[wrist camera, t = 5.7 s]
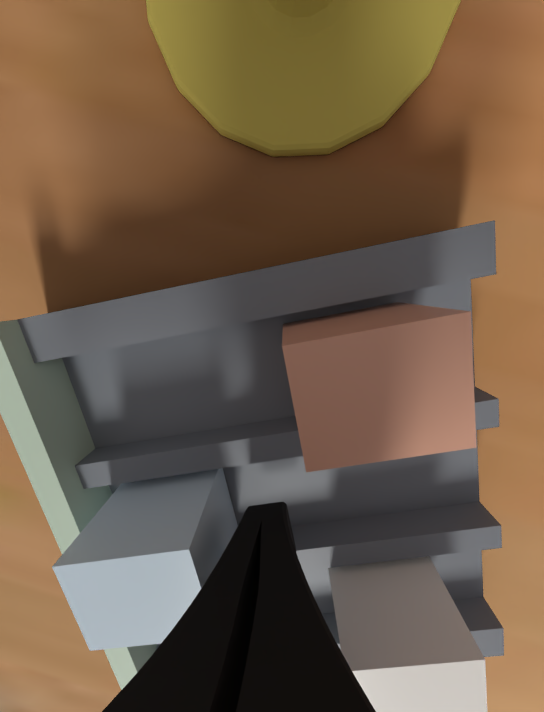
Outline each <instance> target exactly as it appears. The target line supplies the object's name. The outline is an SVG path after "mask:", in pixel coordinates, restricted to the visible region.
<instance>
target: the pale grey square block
mask: <svg viewBox="0 0 544 712" xmlns="http://www.w3.org/2000/svg"><path fill="white" fill-rule="evenodd" d="M328 571H329V578H330V584H331V590H332V597H333V603H334V609H335V616H336V622H337V628H338V635H339V641H340V648H341V652H342V654H343V655H344V657H345V659H346V661H347V663H348V665H349V666H350V668H351V670H352V672H353V674H354V675H355V677H356V679H357V681H358V682H359V684H360V686H361V687H362V689H363V691H364V693H365V694H366V696H367V698H368V699H369V701H370V703H371V704H372V706H373V708H374V709H375V711H376V712H487V694H486V669H485V658H484V657H483V655H482V653H481V651H480V649H479V647H478V646H477V644H476V642H475V640H474V638H473V636H472V634H471V633H470V631H469V629H468V627H467V625H466V623H465V622H464V620H463V618H462V616H461V614H460V612H459V610H458V609H457V607H456V605H455V603H454V601H453V599H452V598H451V596H450V594H449V592H448V590H447V588H446V586H445V585H444V583H443V581H442V579H441V577H440V575H439V573H438V572H437V570H436V568H435V566H434V564H433V562H432V561H431V559H430V557H429V556H427V557H418V558H410V559H401V560H392V561H384V562H375V563H367V564H358V565H350V566H341V567H333V568H328Z"/></svg>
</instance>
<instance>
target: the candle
mask: <svg viewBox="0 0 544 712" xmlns="http://www.w3.org/2000/svg"><path fill="white" fill-rule="evenodd" d="M460 2H461V0H146V7H147V17H148V23H149V25H150V27H151V30H152V32H153V34H154V36H155V39H156V41H157V43H158V46H159V48H160V50H161V52H162V55H163V57H164V59H165V62H166V64H167V66H168V69H169V71H170V73H171V75H172V78H173V80H174V82H175V85H176V87H177V89H178V91H179V92H180V93H181V94H182V95H183V96H184V97H185V98H186V99H187V100H188V101H189V102H190V103H191V104H192V105H193V106H194V107H195V108H196V109H197V110H198V111H199V112H200V114H201V115H202V116H203V117H204V118H205V119H206V120H207V121H208V122H209V123H210V124H211V125H212V126H213V127H214V128H215V129H216V130H217V131H218V132H219V133H220V134H221V135H222V136H225V137H227V138H229V139H232V140H234V141H237V142H239V143H241V144H244V145H246V146H248V147H251V148H253V149H256V150H258V151H260V152H263V153H265V154H267V155H270V156H272V157H279V156H302V155H324V154H330V153H332V152H334V151H336V150H338V149H340V148H342V147H344V146H346V145H348V144H350V143H352V142H354V141H356V140H358V139H360V138H362V137H364V136H366V135H368V134H370V133H372V132H373V131H375V130H377V129H379V128H381V127H383V125H384V124H385V123H386V122H387V121H388V120H389V119H390V118H391V117H392V115H393V114H394V113H395V112H396V111H397V110H398V109H399V108H400V107H401V105H402V104H403V103H404V102H405V101H406V100H407V99H408V98H409V96H410V95H411V94H412V93H413V92H414V91H415V90H416V89H417V88H418V86H419V85H420V84H421V83H422V82H423V81H424V80H425V79H426V77H427V76H428V75H429V73H430V72H431V69H432V67H433V65H434V62H435V60H436V58H437V55H438V53H439V51H440V48H441V46H442V44H443V41H444V39H445V37H446V34H447V32H448V30H449V27H450V25H451V23H452V20H453V18H454V16H455V13H456V11H457V9H458V6H459V4H460Z"/></svg>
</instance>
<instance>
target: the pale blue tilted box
mask: <svg viewBox="0 0 544 712" xmlns="http://www.w3.org/2000/svg"><path fill="white" fill-rule="evenodd" d="M237 527H238V525H237V521H236V517H235V513H234V509H233V506H232V502H231V498H230V494H229V490H228V487H227V483H226V479H225V475H224V471H223V468H220V469H214V470H207V471H200V472H194V473H187V474H180V475H174V476H167V477H161V478H154V479H147V480H141V481H134V482H127V483H121V485H120V486H119V487H118V488H117V489H116V491H115V492H114V493H113V494H112V495H111V497H110V498H109V499H108V500H107V501H106V503H105V504H104V505H103V506H102V507H101V509H100V510H99V511H98V512H97V513H96V515H95V516H94V517H93V518H92V520H91V521H90V522H89V523H88V524H87V526H86V527H85V528H84V529H83V530H82V532H81V533H80V534H79V535H78V536H77V538H76V539H75V540H74V541H73V542H72V544H71V545H70V546H69V547H68V548H67V550H66V551H65V552H64V553H63V554H62V556H61V557H60V558H59V559H58V560H57V562H56V563H55V564H54V565H53V566H52V568H53V570H54V572H55V574H56V577H57V579H58V581H59V583H60V585H61V588H62V590H63V592H64V594H65V596H66V599H67V601H68V603H69V605H70V607H71V610H72V612H73V614H74V616H75V619H76V621H77V623H78V625H79V627H80V630H81V632H82V634H83V636H84V638H85V641H86V643H87V645H88V647H89V650H90V651H91V650H102V649H112V648H122V647H132V646H142V645H152V644H161V643H162V642H163V641H164V639H165V638H166V637H167V636H168V634H169V633H170V632H171V630H172V629H173V628H174V627H175V625H176V624H177V622H178V621H179V620H180V618H181V617H182V616H183V614H184V613H185V612H186V610H187V609H188V607H189V606H190V604H191V603H192V602H193V600H194V599H195V597H196V596H197V594H198V593H199V591H200V590H201V588H202V587H203V585H204V583H205V582H206V580H207V579H208V577H209V576H210V574H211V572H212V571H213V569H214V568H215V566H216V564H217V563H218V561H219V559H220V557H221V556H222V554H223V552H224V550H225V549H226V547H227V545H228V543H229V542H230V540H231V538H232V536H233V534H234V532H235V530H236V529H237Z"/></svg>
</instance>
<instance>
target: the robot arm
mask: <svg viewBox="0 0 544 712" xmlns="http://www.w3.org/2000/svg"><path fill="white" fill-rule="evenodd" d="M102 712H376V711H375V709H374V708H373V706H372V704H371V703H370V701H369V699H368V698H367V696H366V694H365V693H364V691H363V689H362V687H361V686H360V684H359V682H358V681H357V679H356V677H355V675H354V674H353V672H352V670H351V668H350V666H349V665H348V663H347V661H346V659H345V657H344V655H343V654H342V652H341V650H340V648H339V646H338V644H337V643H336V641H335V639H334V637H333V635H332V633H331V631H330V629H329V627H328V625H327V623H326V621H325V619H324V617H323V615H322V613H321V611H320V609H319V607H318V605H317V602H316V600H315V598H314V596H313V594H312V591H311V589H310V587H309V584H308V582H307V580H306V577H305V575H304V572H303V570H302V567H301V564H300V562H299V559H298V556H297V553H296V546H295V541H294V536H293V532H292V527H291V522H290V518H289V513H288V508H287V504H286V503H284V502H276V503H268V504H261V505H253V506H248V508H247V509H246V511H245V513H244V515H243V517H242V519H241V521H240V523H239V525H238V527H237V529H236V530H235V532H234V534H233V536H232V538H231V540H230V542H229V543H228V545H227V547H226V549H225V550H224V552H223V554H222V556H221V557H220V559H219V561H218V563H217V564H216V566H215V568H214V569H213V571H212V572H211V574H210V576H209V577H208V579H207V580H206V582H205V583H204V585H203V587H202V588H201V590H200V591H199V593H198V594H197V596H196V597H195V599H194V600H193V602H192V603H191V604H190V606H189V607H188V609H187V610H186V612H185V613H184V614H183V616H182V617H181V618H180V620H179V621H178V622H177V624H176V625H175V627H174V628H173V629H172V630H171V632H170V633H169V634H168V636H167V637H166V638H165V639H164V641H163V642H162V643H161V644H160V646H159V647H158V648H157V649H156V651H155V652H154V653H153V654H152V656H151V657H150V658H149V659H148V661H147V662H146V663H145V664H144V665H143V667H142V668H141V669H140V670H139V671H138V672H137V674H136V675H135V676H134V677H133V678H132V679H131V680H130V681H129V682H128V684H127V685H126V686H125V687H124V688H123V689H122V690H121V691H120V692H119V694H118V695H117V696H116V697H115V698H114V699H113V700H112V701H111V702H110V704H109V705H108V706H107V707H106V708H105V709H104V710H103V711H102Z"/></svg>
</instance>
